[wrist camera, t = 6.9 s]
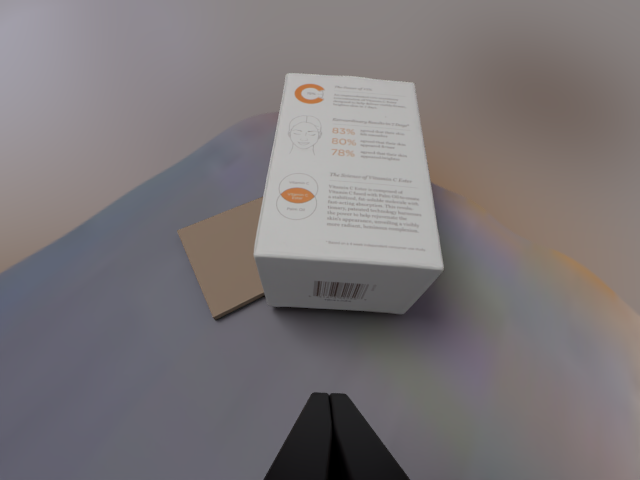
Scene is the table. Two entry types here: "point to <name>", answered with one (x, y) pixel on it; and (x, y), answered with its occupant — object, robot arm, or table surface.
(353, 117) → the small box
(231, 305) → the cork mat
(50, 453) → the table surface
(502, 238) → the table surface
